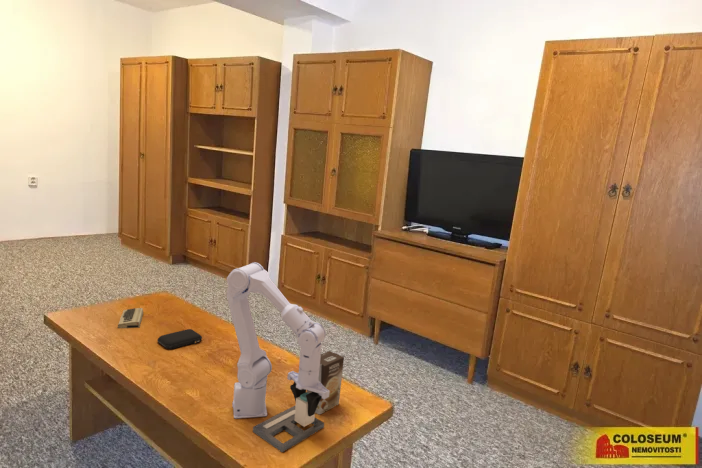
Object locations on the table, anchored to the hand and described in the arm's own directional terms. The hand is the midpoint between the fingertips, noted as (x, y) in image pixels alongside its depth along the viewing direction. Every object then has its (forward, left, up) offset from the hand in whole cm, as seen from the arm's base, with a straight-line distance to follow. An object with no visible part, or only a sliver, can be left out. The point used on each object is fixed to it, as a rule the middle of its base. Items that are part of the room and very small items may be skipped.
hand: (305, 411), depth 131 cm
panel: (-4, -1, -5) cm, 7 cm away
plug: (0, 0, -3) cm, 3 cm away
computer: (-58, +81, -6) cm, 100 cm away
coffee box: (+8, +10, -5) cm, 14 cm away
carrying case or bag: (-37, +59, -6) cm, 70 cm away
